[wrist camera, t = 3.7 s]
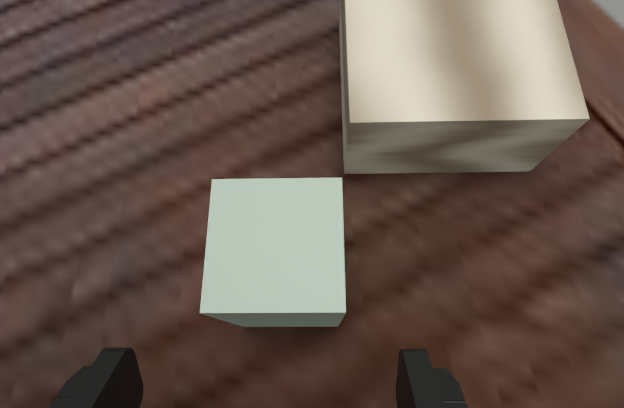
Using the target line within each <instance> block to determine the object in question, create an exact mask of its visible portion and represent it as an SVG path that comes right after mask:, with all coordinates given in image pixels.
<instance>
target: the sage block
mask: <svg viewBox="0 0 624 408" xmlns="http://www.w3.org/2000/svg"><path fill="white" fill-rule="evenodd" d="M200 313H201V314H204V315H207V316H210V317H214V318H217V319H220V320H223V321H226V322H229V323H233V324H236V325H239V326H242V327H338V326H339V324H340V323H341V321H342V319H343V317H344V315H345V314H346V294H345V261H344V227H343V194H342V178H271V179H212V185H211V196H210V207H209V218H208V229H207V240H206V251H205V262H204V273H203V284H202V295H201V306H200Z"/></svg>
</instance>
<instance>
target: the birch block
mask: <svg viewBox="0 0 624 408" xmlns="http://www.w3.org/2000/svg"><path fill="white" fill-rule="evenodd" d="M339 35H340V66H341V97H342V128H343V159H344V174H372V173H448V172H523V171H531V170H532V169H533V168H534V167H535V166H536V165H538V164H539V163H540V162H541V161H542V160H543V159H544V158H546V157H547V156H548V155H549V154H550V153H551V152H552V151H554V150H555V149H556V148H557V147H558V146H559V145H560V144H562V143H563V142H564V141H565V140H566V139H567V138H568V137H570V136H571V135H572V134H573V133H574V132H575V131H576V130H578V129H579V128H580V127H581V126H582V125H583V124H584V123H585V122H587V121H588V120H589V119H590V118H589V115H588V111H587V107H586V104H585V100H584V97H583V93H582V89H581V86H580V82H579V79H578V75H577V71H576V68H575V64H574V60H573V57H572V53H571V50H570V46H569V42H568V39H567V35H566V32H565V28H564V24H563V21H562V17H561V13H560V10H559V6H558V3H557V0H341V5H340V25H339Z"/></svg>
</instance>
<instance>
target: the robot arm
mask: <svg viewBox="0 0 624 408" xmlns="http://www.w3.org/2000/svg"><path fill="white" fill-rule="evenodd" d="M142 396H143V382H142V378H141V375H140V371H139V367H138V364H137V360H136V356H135V353H134V350H133V349H132V348H105V349H103V350H102V351H101V352H100V354H99V355H98V357H97V358H96V360H95V361H94V363H93V364H92V366H84V367H83V368H82V369H80V370H79V371H78V372H77V373H76V374H75V375H73V376H72V377H71V378H70V379H69V380H67V382H66V383H65V385H64V386H63V387H62V389H61V390H60V392H59V393H58V395H57V396H56V399H55V400H53V402H52V403H51V405H50V406H49V407H48V408H139V407H140V404H141V401H142ZM396 399H397V407H398V408H468V406H467V404H466V403H465V398H464V396H463V393H462V390H461V388H460V385H459V383H458V382H457V381H456V379H455V378H454V377H453V376H452V375H451V374H450V372H449V371H448V370H447V369H446V368H432V365H431V362H430V358H429V355H428V352H427V351H426V349H400V352H399V361H398V371H397V382H396Z"/></svg>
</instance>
